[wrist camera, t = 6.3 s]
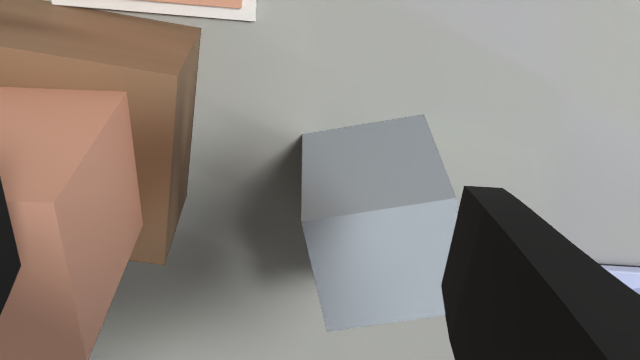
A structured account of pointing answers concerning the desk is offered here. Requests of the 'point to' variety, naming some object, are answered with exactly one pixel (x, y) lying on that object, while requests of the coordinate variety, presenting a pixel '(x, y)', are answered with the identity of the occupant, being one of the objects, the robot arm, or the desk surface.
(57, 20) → the walnut base block
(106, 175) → the terracotta block
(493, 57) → the desk surface
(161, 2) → the terracotta swatch tile
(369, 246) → the slate grey block
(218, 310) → the desk surface
